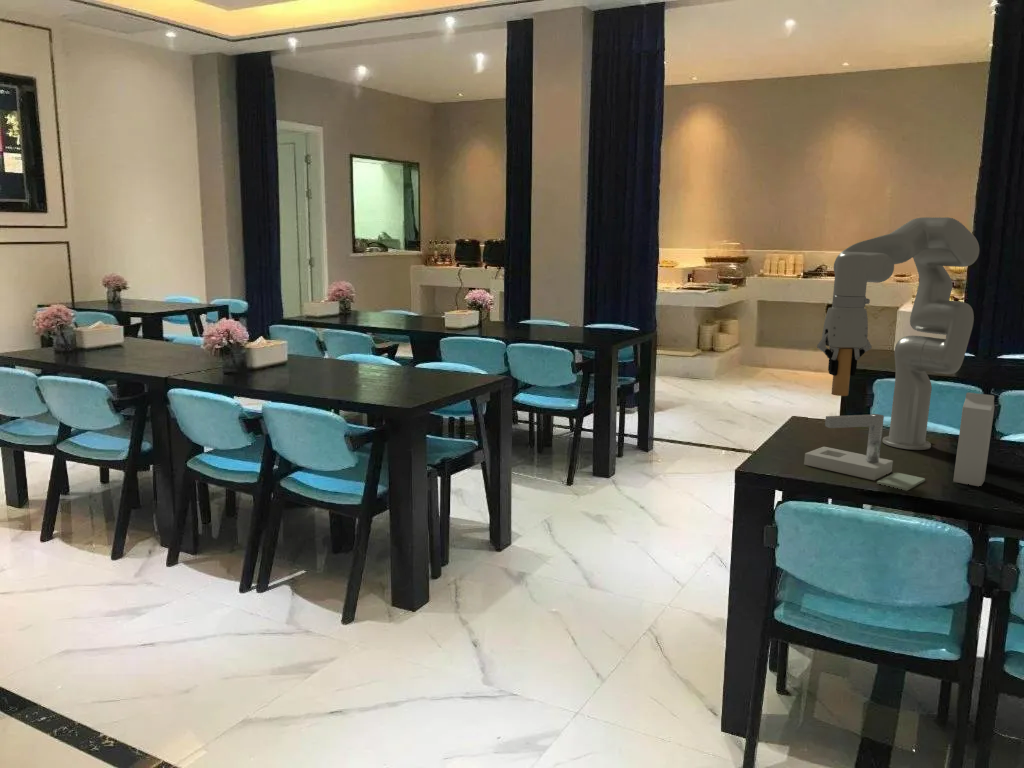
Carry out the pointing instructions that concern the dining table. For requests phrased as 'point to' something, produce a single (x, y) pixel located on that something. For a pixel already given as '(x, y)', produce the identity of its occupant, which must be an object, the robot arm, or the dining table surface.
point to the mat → (901, 481)
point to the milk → (974, 439)
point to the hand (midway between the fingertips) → (841, 374)
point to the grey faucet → (862, 421)
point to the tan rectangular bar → (842, 372)
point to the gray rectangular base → (847, 463)
